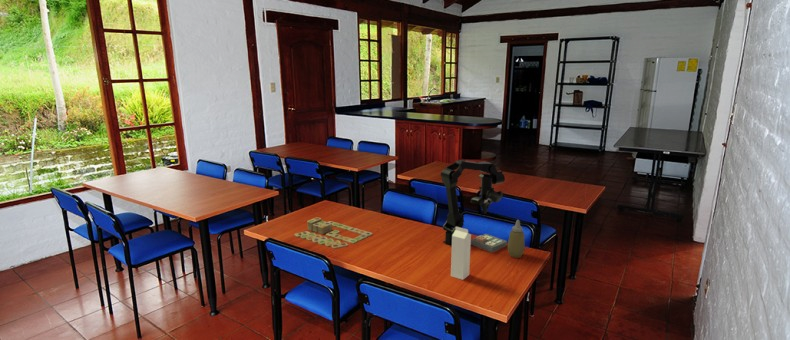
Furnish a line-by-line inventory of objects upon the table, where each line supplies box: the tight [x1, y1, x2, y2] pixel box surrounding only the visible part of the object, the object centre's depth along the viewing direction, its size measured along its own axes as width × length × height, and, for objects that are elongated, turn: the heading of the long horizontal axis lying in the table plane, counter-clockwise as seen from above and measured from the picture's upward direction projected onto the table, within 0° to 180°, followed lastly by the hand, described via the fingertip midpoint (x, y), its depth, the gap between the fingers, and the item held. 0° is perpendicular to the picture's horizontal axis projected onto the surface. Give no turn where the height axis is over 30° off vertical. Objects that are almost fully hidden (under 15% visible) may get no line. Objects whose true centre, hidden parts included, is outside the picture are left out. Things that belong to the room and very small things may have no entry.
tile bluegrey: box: [492, 239, 503, 244], centre depth 215 cm, size 4×4×2 cm
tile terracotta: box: [474, 235, 487, 243], centre depth 215 cm, size 4×4×2 cm
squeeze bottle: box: [506, 219, 526, 259], centre depth 202 cm, size 8×8×18 cm
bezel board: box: [471, 233, 508, 254], centre depth 215 cm, size 12×13×3 cm
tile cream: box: [485, 241, 496, 246], centre depth 211 cm, size 4×4×2 cm
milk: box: [450, 227, 472, 281], centre depth 181 cm, size 6×6×22 cm
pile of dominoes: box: [294, 217, 373, 249], centre depth 228 cm, size 35×27×6 cm
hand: (485, 213), depth 227 cm, fingers closed
